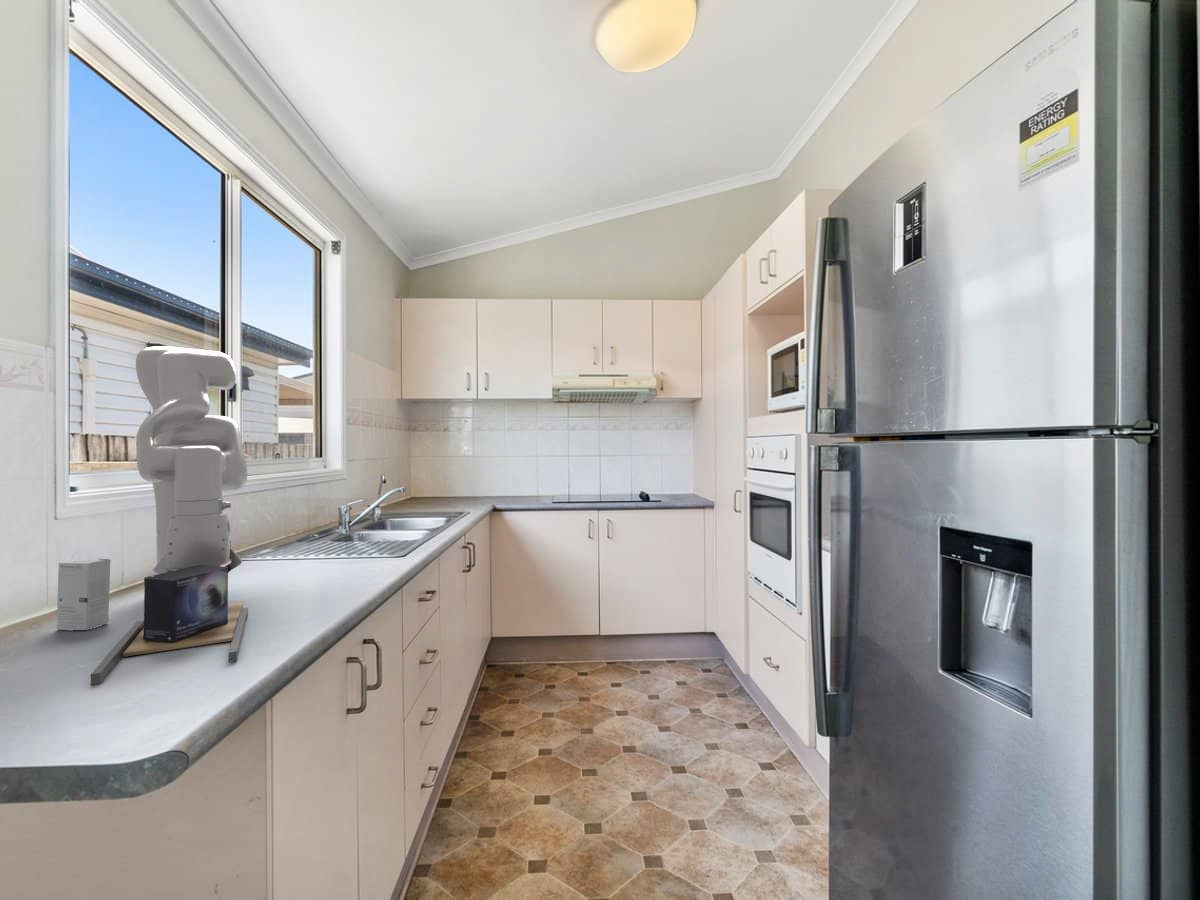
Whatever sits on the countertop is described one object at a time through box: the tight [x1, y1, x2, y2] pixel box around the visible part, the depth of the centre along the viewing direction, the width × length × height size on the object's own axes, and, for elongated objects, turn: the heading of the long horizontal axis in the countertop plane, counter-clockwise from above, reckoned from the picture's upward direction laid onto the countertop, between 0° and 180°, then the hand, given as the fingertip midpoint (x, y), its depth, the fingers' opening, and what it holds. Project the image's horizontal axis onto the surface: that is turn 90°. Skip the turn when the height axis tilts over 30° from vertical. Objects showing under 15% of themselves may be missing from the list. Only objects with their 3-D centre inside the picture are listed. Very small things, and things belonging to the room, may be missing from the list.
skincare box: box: [56, 557, 111, 631], centre depth 98 cm, size 6×4×12 cm
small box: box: [143, 565, 229, 643], centre depth 93 cm, size 11×6×10 cm, turn 169°
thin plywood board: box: [122, 601, 244, 658], centre depth 98 cm, size 24×14×6 cm, turn 30°
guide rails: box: [90, 607, 249, 686], centre depth 90 cm, size 26×17×2 cm, turn 30°
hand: (199, 601), depth 106 cm, fingers closed on thin plywood board, 4 cm apart
